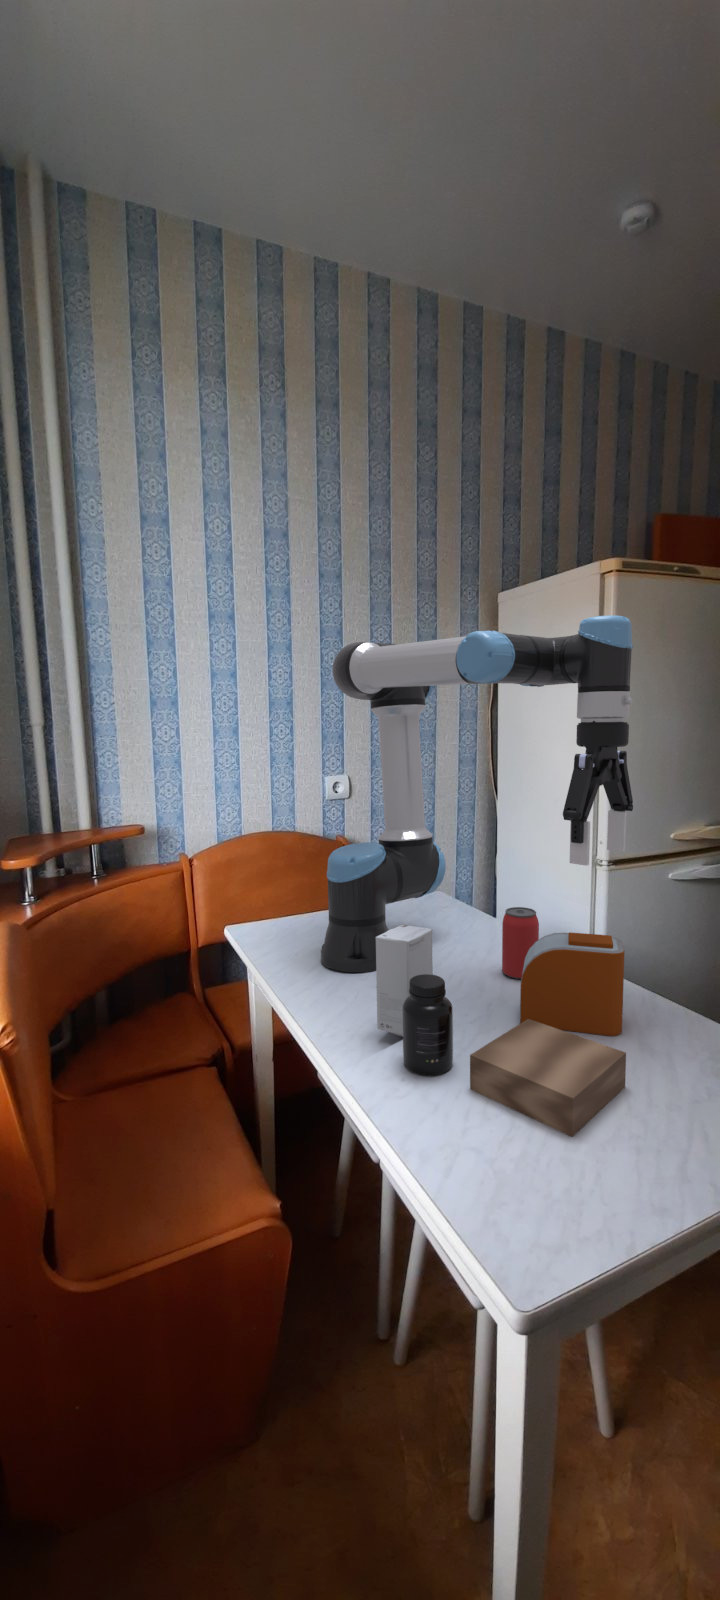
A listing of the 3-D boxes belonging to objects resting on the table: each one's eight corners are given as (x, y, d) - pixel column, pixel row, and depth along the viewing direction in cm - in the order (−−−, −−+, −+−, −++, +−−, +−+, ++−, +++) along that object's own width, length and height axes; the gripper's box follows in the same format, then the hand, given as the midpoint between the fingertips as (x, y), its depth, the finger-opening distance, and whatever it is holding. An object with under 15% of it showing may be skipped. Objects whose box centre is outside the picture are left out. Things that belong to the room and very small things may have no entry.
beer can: (535, 967, 123) (535, 906, 122) (541, 980, 117) (542, 916, 115) (500, 966, 124) (500, 905, 123) (504, 980, 117) (504, 916, 116)
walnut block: (470, 1091, 83) (470, 1054, 82) (527, 1052, 92) (528, 1018, 92) (572, 1140, 73) (573, 1098, 72) (625, 1089, 82) (626, 1052, 82)
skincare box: (409, 1039, 96) (408, 942, 94) (374, 1029, 99) (373, 936, 97) (435, 1018, 103) (434, 927, 101) (402, 1009, 106) (401, 921, 104)
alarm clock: (618, 1013, 103) (621, 931, 102) (623, 1038, 95) (625, 949, 94) (523, 1003, 108) (524, 924, 106) (519, 1025, 100) (520, 940, 98)
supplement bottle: (399, 1053, 92) (398, 971, 91) (446, 1050, 92) (446, 969, 91) (407, 1079, 85) (406, 991, 84) (458, 1075, 86) (458, 989, 84)
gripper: (591, 721, 87) (586, 874, 90) (657, 720, 105) (652, 848, 108) (540, 721, 93) (537, 866, 95) (611, 720, 110) (607, 842, 113)
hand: (598, 857), depth 101 cm, fingers open, 13 cm apart
